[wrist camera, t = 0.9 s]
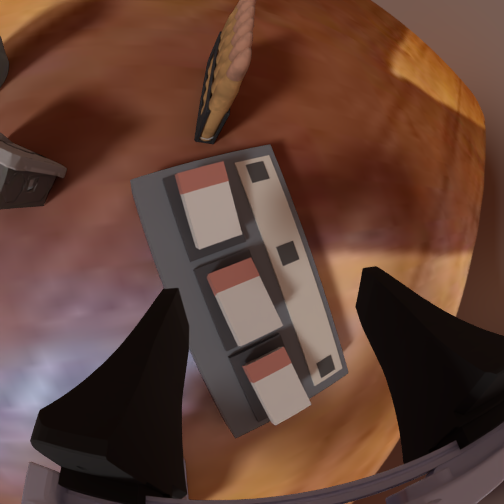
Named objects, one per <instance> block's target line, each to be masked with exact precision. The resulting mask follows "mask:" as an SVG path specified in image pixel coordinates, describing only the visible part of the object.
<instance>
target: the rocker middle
mask: <svg viewBox="0 0 504 504" xmlns="http://www.w3.org/2000/svg"><path fill="white" fill-rule="evenodd" d="M207 280H208V282H209V284H210V287H211V289H212V291H213V294H214V296H215V297H216V299H217V302H218V304H219V306H220V308H221V310H222V313H223V315H224V317H225V319H226V321H227V324H228V326H229V328H230V330H231V332H232V334H233V336H234V339H235V341H236V343H237V345H238V346H243V345H245V344H247V343H249V342H251V341H253V340H255V339H257V338H260V337H262V336H264V335H266V334H268V333H270V332H272V331H274V330H276V329H278V328H280V327H282V326H283V324H282V322H281V320H280V318H279V316H278V314H277V312H276V309H275V307H274V305H273V303H272V301H271V299H270V297H269V295H268V293H267V291H266V289H265V286H264V284H263V282H262V280H261V278H260V275H259V273H258V271H257V269H256V267H255V264H254V262H253V260H252V258H248V259H246V260H243V261H241V262H238V263H235V264H233V265H230V266H228V267H225V268H222V269H220V270H217V271H215V272H212V273H210V274H208V276H207Z"/></svg>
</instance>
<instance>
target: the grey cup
mask: <svg viewBox="0 0 504 504" xmlns="http://www.w3.org/2000/svg"><path fill="white" fill-rule="evenodd" d="M8 70H9V61H8V58H7V56H6V53H5V50H4V46H3V43H2V39H1V36H0V87H1V86H2V84H3V82H4V81H5V79H6V76H7V74H8Z"/></svg>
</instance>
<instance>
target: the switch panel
mask: <svg viewBox="0 0 504 504" xmlns="http://www.w3.org/2000/svg"><path fill="white" fill-rule="evenodd" d="M222 161H224V165H225V169H226V172H227V176H228V180H229V181H228V182H229V185H230V189H231V193H232V197H233V201H234V205H235V208H236V212H237V216H238V220H239V224H240V227H241V231H242V235H239V236H236V237H233V238H230V239H228V240H225V241H222V242H219V243H216V244H213V245H211V246H208V247H205V248H202V249H200V250H199V249H198V248H196V247H195V243H194V240H193V237H192V233H191V230H190V226H189V223H188V220H187V216H186V213H185V209H184V206H183V202H182V198H181V195H180V193H179V189H178V185H177V182H176V178H175V174H177V173H180V172H184V171H188V170H191V169H195V168H199V167H202V166H206V165H210V164H214V163H218V162H222ZM130 181H131V188H132V194H133V197H134V201H135V204H136V207H137V211H138V214H139V217H140V220H141V223H142V227H143V230H144V233H145V236H146V239H147V242H148V245H149V248H150V251H151V254H152V256H153V259H154V262H155V265H156V268H157V270H158V273H159V276H160V279H161V281H162V284H163V287H164V289H168V288H179V291H180V295H181V299H182V302H183V306H184V309H185V313H186V316H187V320H188V323H189V350H190V352H191V354H192V356H193V358H194V361H195V363H196V365H197V367H198V369H199V371H200V374H201V376H202V378H203V380H204V382H205V384H206V386H207V388H208V390H209V392H210V394H211V396H212V398H213V400H214V402H215V404H216V406H217V408H218V410H219V412H220V414H221V416H222V417H223V419H224V421H225V423H226V425H227V426H228V428H229V429H230V431H231V432H232V434H233V435H234V437H235V438H237V437H240V436H242V435H244V434H246V433H248V432H250V431H252V430H254V429H256V428H258V427H260V426H262V425H264V424H266V423H268V422H269V421H270V419H269V417H268V415H267V413H266V412H265V410H264V408H263V406H262V404H261V402H260V400H259V398H258V396H257V394H256V392H255V390H254V388H253V386H252V384H251V382H250V381H249V379H248V377H247V375H246V373H245V371H244V369H243V367H242V365H244V364H246V363H248V362H251V361H253V360H255V359H257V358H259V357H261V356H263V355H265V354H267V353H269V352H271V351H273V350H274V349H276V348H278V347H284V348H285V350H286V352H287V354H288V356H289V358H290V360H291V362H292V365H293V367H294V369H295V372H296V374H297V376H298V378H299V380H300V382H301V384H302V386H303V388H304V390H305V392H306V394H307V396H308V398H309V399H310V398H311V397H313V396H314V395H316V394H318V393H319V392H321V391H322V390H324V389H325V388H327V387H329V386H330V385H332V384H333V383H335V382H336V381H338V380H339V379H341V378H342V377H343V376H345V375H346V374H348V369H347V365H346V362H345V358H344V355H343V351H342V348H341V344H340V341H339V338H338V334H337V331H336V328H335V324H334V321H333V318H332V315H331V311H330V308H329V305H328V302H327V299H326V296H325V292H324V289H323V286H322V283H321V280H320V277H319V274H318V271H317V268H316V265H315V262H314V259H313V256H312V254H311V251H310V248H309V245H308V242H307V239H306V236H305V234H304V231H303V228H302V225H301V223H300V220H299V217H298V214H297V212H296V209H295V206H294V204H293V201H292V198H291V196H290V193H289V190H288V188H287V185H286V183H285V180H284V178H283V175H282V172H281V170H280V167H279V165H278V162H277V160H276V157H275V155H274V152H273V150H272V148H271V145H264V146H259V147H254V148H249V149H245V150H240V151H235V152H231V153H226V154H222V155H218V156H214V157H209V158H205V159H201V160H198V161H194V162H190V163H186V164H182V165H179V166H175V167H172V168H168V169H165V170H161V171H158V172H154V173H151V174H148V175H145V176H141V177H138V178H135V179H132V180H130ZM248 258H252V260H253V262H254V264H255V267H256V269H257V271H258V273H259V275H260V278H261V280H262V282H263V284H264V286H265V289H266V291H267V293H268V295H269V297H270V299H271V301H272V303H273V305H274V307H275V309H276V312H277V314H278V316H279V318H280V320H281V322H282V324H283V326H282V327H280V328H278V329H276V330H274V331H272V332H270V333H268V334H266V335H264V336H262V337H260V338H257V339H255V340H253V341H251V342H249V343H247V344H245V345H243V346H238V345H237V343H236V341H235V339H234V336H233V334H232V332H231V330H230V328H229V326H228V324H227V321H226V319H225V317H224V315H223V313H222V310H221V308H220V306H219V304H218V302H217V299H216V297H215V296H214V294H213V291H212V289H211V287H210V284H209V282H208V280H207V276H208V274H210V273H212V272H215V271H217V270H220V269H222V268H225V267H228V266H230V265H233V264H235V263H238V262H241V261H243V260H246V259H248Z"/></svg>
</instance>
